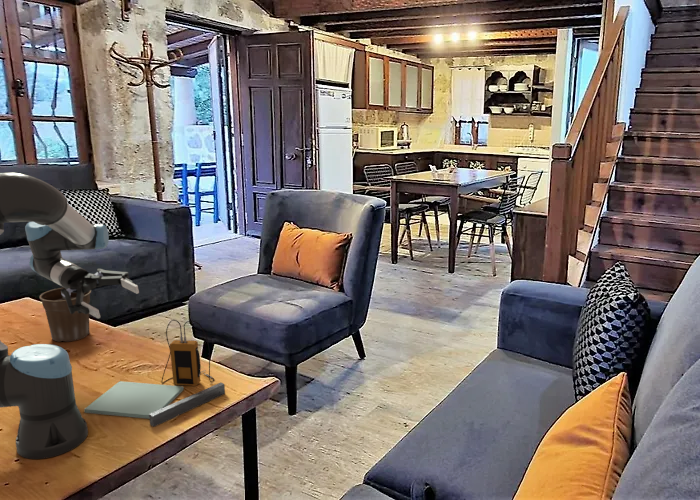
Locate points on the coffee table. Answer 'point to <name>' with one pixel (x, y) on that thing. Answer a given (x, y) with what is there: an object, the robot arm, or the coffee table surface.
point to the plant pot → (65, 316)
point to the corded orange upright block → (185, 360)
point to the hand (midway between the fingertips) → (118, 301)
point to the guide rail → (186, 404)
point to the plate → (134, 399)
